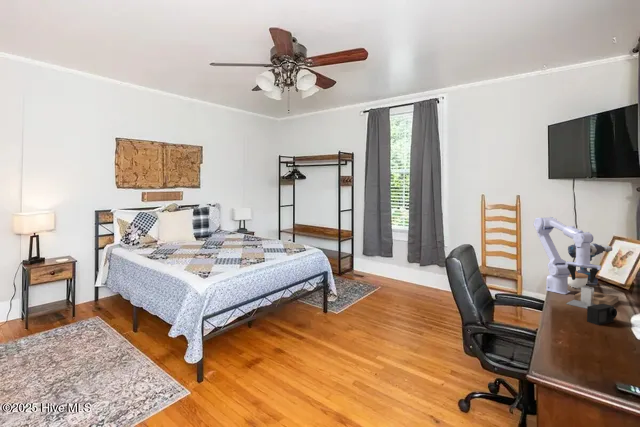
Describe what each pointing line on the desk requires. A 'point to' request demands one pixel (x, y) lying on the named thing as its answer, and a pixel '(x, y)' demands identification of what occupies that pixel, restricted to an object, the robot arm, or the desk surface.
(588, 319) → the digital camera
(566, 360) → the desk surface
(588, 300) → the grey rectangular block
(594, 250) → the impact wrench
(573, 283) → the lidded jar
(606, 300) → the socket block
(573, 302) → the mat
